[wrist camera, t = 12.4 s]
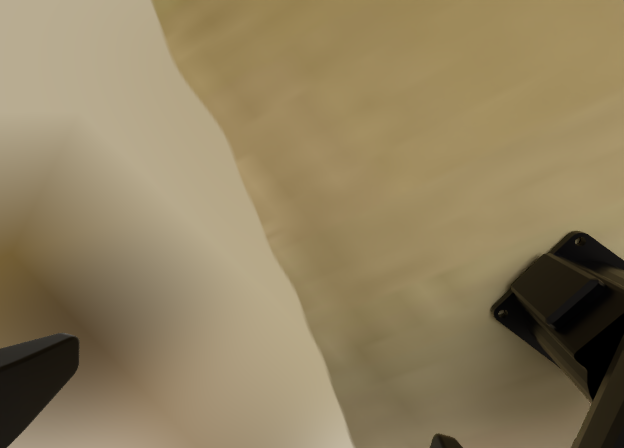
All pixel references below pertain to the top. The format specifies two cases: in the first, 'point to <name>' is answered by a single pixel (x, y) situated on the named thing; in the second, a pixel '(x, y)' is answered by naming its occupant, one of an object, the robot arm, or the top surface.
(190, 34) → the top surface
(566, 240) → the robot arm
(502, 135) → the top surface
